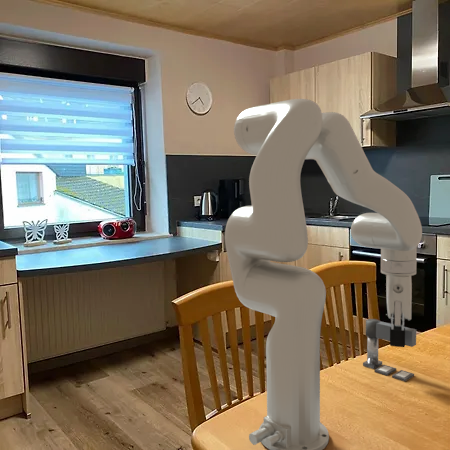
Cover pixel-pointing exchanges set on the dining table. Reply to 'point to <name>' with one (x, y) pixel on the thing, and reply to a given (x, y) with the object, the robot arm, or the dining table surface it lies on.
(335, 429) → the dining table surface
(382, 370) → the label plate
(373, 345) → the bar post
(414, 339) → the swing bar
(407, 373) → the label plate
